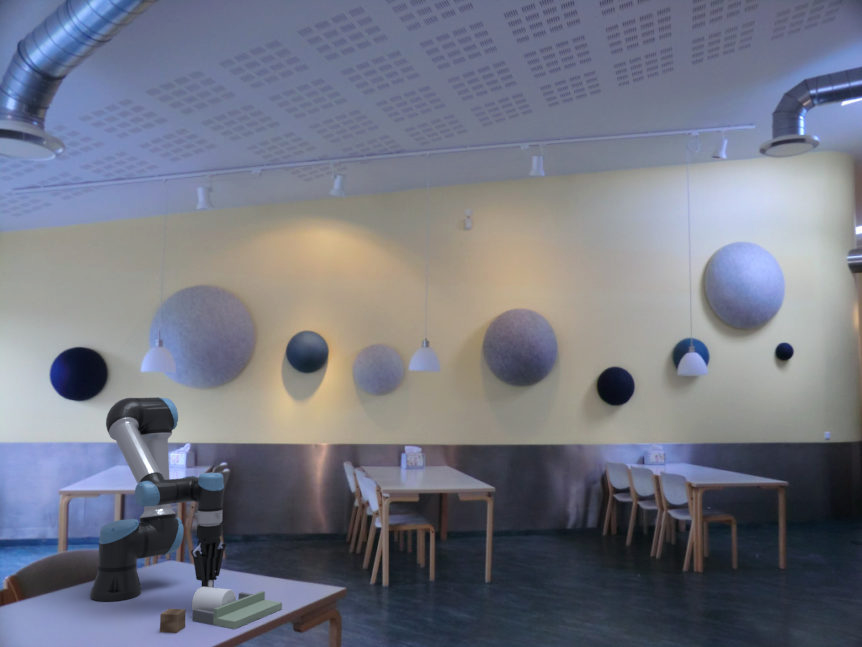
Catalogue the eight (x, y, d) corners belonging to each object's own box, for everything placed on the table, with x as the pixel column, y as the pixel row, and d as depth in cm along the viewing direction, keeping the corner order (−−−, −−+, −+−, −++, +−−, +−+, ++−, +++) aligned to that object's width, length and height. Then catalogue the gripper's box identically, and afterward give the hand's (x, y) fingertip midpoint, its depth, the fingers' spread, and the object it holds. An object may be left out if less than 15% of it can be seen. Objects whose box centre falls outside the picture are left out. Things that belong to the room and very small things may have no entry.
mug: (220, 621, 210) (220, 593, 211) (191, 618, 213) (192, 590, 214) (243, 609, 221) (243, 583, 222) (215, 606, 225) (216, 580, 225)
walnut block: (159, 632, 201) (160, 613, 201) (168, 626, 206) (169, 608, 206) (176, 633, 200) (177, 614, 201) (185, 627, 205) (185, 609, 205)
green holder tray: (192, 620, 211) (193, 604, 211) (241, 601, 230) (242, 587, 230) (234, 629, 204) (235, 612, 204) (281, 609, 222) (282, 594, 223)
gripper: (203, 528, 217) (200, 609, 215) (233, 521, 229) (231, 598, 226) (185, 526, 220) (182, 605, 218) (215, 519, 232) (213, 595, 230)
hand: (207, 602), depth 222 cm, fingers closed
